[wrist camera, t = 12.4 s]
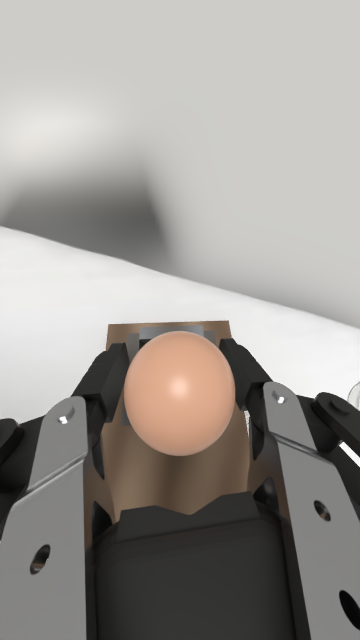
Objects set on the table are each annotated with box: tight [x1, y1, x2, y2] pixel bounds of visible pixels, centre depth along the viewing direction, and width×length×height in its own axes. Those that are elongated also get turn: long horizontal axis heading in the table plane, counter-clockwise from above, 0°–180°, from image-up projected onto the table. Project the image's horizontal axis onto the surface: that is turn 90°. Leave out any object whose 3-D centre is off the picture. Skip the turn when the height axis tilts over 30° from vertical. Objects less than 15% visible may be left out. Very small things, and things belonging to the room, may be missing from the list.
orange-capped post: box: [124, 331, 235, 456], centre depth 10 cm, size 4×4×13 cm
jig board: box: [101, 321, 250, 522], centre depth 13 cm, size 16×22×5 cm
